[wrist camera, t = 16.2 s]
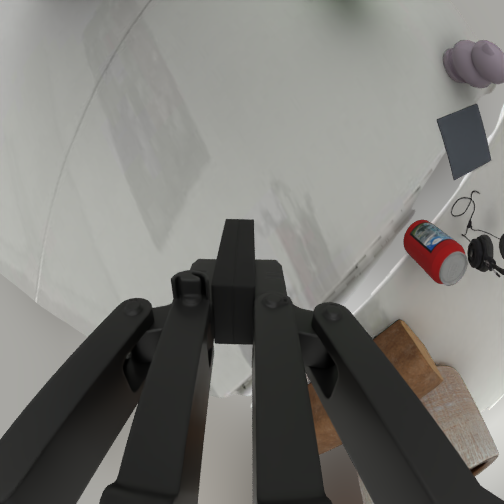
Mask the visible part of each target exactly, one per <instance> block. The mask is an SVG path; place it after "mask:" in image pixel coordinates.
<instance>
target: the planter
mask: <svg viewBox="0 0 504 504" xmlns="http://www.w3.org/2000/svg"><path fill="white" fill-rule="evenodd" d="M436 367H437V369H438V371H439V373H440V374H441V376H442V378H443V382H442V383H441V384H440V385H439V386H437V387H436V388H435V389H434V390H432V391H431V392H429V393H428V394H427V395H425V396H424V397H422V398H421V399H419V400H420V401H421V402H422V404H423V405H424V406H425V408H426V409H427V410H428V412H429V413H430V414H431V416H432V417H433V418H434V420H435V421H436V423H437V424H438V425H439V427H440V428H441V429H442V431H443V432H444V434H445V435H446V436H447V438H448V439H449V441H450V442H451V443H452V445H453V446H454V448H455V449H456V450H457V452H458V453H459V455H460V456H461V458H462V459H463V461H464V462H465V463H466V465H467V466H468V468H469V469H470V471H471V472H472V474H473V475H474V477H475V476H476V475H478V474H479V473H480V472H482V471H483V470H484V469H486V468H487V467H488V466H489V465H490V464H491V463H493V461H494V460H495V459H496V458H497V457H498V455H499V452H498V450H497V448H496V446H495V443H494V441H493V439H492V437H491V435H490V433H489V430H488V428H487V426H486V424H485V422H484V420H483V418H482V416H481V414H480V412H479V410H478V408H477V406H476V404H475V402H474V400H473V398H472V396H471V394H470V392H469V391H468V389H467V387H466V385H465V383H464V381H463V380H462V378H461V376H460V375H459V373H458V372H457V371H456V370H455V369H454V368H452V367H449V366H436ZM356 471H357V470H356ZM357 475H358V480H359V484H360V488H361V493H362V498H363V503H364V504H374V503H373V501H372V499H371V497H370V495H369V493H368V491H367V489H366V487H365V486H364V484H363V482H362V480H361V478H360V476H359V474H358V472H357Z"/></svg>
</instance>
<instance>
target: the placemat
mask: <svg viewBox="0 0 504 504" xmlns="http://www.w3.org/2000/svg"><path fill="white" fill-rule="evenodd" d="M437 122H438V125H439V128H440V131H441V134H442V138H443V141H444V144H445V148H446V151H447V155H448V159H449V162H450V166H451V170H452V175H453V179H454V180H456V179H458V178H459V177H461V176H463V175H465V174H467V173H469V172H471V171H472V170H474V169H476V168H478V167H480V166H482V165H483V164H485V163H487V162H489V161H491V157H490V152H489V147H488V142H487V138H486V134H485V130H484V126H483V122H482V119H481V116H480V112H479V108H478V105H477V104H475V105H473V106H470V107H467V108H465V109H462V110H460V111H457V112H455V113H452V114H450V115H447V116H445V117H442V118H440V119H438V120H437Z"/></svg>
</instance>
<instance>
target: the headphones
mask: <svg viewBox="0 0 504 504" xmlns="http://www.w3.org/2000/svg"><path fill="white" fill-rule="evenodd" d="M473 192H475V191H473ZM473 192H472V193H473ZM476 192H477V191H476ZM478 193H479V192H478ZM479 194H480V193H479ZM464 198H465V197H464ZM460 199H463V198H460ZM469 199H471V200H472V194H471V198H469ZM458 200H459V199H458ZM458 200H457V201H458ZM457 201H456V202H457ZM472 201H473V200H472ZM456 202H455V203H456ZM470 202H471V201H470ZM473 202H474V201H473ZM454 205H455V204H454ZM454 205H453V207H454ZM469 205H470V203H469ZM469 205H468V207H469ZM453 207H452V209H453ZM468 207H467V208H468ZM466 210H467V209H466ZM474 210H475V204H474ZM465 212H466V211H465ZM465 212H464V213H465ZM464 213H463V214H464ZM473 213H474V212H473ZM451 214H452V211H451ZM461 215H462V214H461ZM472 215H473V214H472ZM453 216H454V215H453ZM458 216H460V215H458ZM471 218H472V216H471ZM471 222H472V221H471V219H470V221H469V224H468V226H467V229H468V228H470V227H471V229H472V226H471ZM472 230H473V229H472ZM474 231H477V230H474ZM479 231H482V230H479ZM483 232H484V231H483ZM466 233H467V232H466ZM485 233H487V232H485ZM488 234H489V233H488ZM465 235H466V234H465ZM490 235H491V234H490ZM462 236H464V235H463V234H462ZM492 236H493V235H492ZM465 237H466V236H465ZM494 237H495V236H494ZM466 238H467V237H466ZM496 238H497V237H496ZM467 239H468V238H467ZM498 239H499V238H498ZM469 241H470V240H469ZM499 249H500V253H501V255H502V258H503V259H504V234H503V235H502V236H501V239H500V242H499ZM468 261H469V263H470V265H471V267H473V268H476V269H478V270H480V271H482V272H486V271H488V270H490V271H494V272H495V273H496V275H497V276H498V277H500V275H499V274H498V273H497V272H496V271H495V270H494V268H495V269H496V270H497V271H498V272H500V273H501V274H502V275H504V269H502V268H500V267H498V266H497V265H496V262H495V260H494V259H493V244H492V241H491V239H490V237H489V236H487V235H481V236H479V237H477V239H472V240H471V241H470V244H469V246H468Z"/></svg>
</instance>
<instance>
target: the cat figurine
mask: <svg viewBox="0 0 504 504" xmlns="http://www.w3.org/2000/svg"><path fill="white" fill-rule="evenodd" d="M443 63H444V67H445V69H446V71H447V73H448V74H449V76H450V77H451V78H452V79H453V80H455V81H456V82H459V83H468V84H470V85H471V86H473V87H476V88H485V87H488V86H489V85H490V84H491V83H494V84H500V83H504V53H503V52H502V50H501V49H500V48H499V47H498V46H497V45H495V44H494V43H492V42H489V41H487V40H481V41H478V42H476V43H475V42H472V41H470V40H461V41H459V42H458V43H456V44H455V46H454V48H451V49H448V50H446V51H445V53H444V55H443Z"/></svg>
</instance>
